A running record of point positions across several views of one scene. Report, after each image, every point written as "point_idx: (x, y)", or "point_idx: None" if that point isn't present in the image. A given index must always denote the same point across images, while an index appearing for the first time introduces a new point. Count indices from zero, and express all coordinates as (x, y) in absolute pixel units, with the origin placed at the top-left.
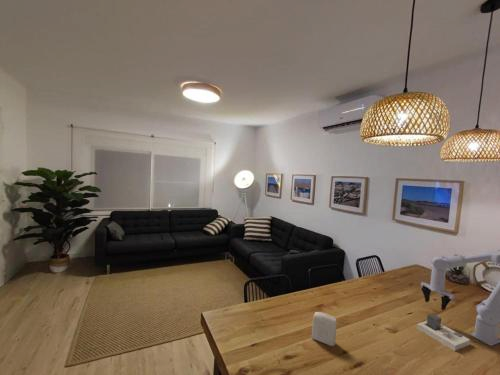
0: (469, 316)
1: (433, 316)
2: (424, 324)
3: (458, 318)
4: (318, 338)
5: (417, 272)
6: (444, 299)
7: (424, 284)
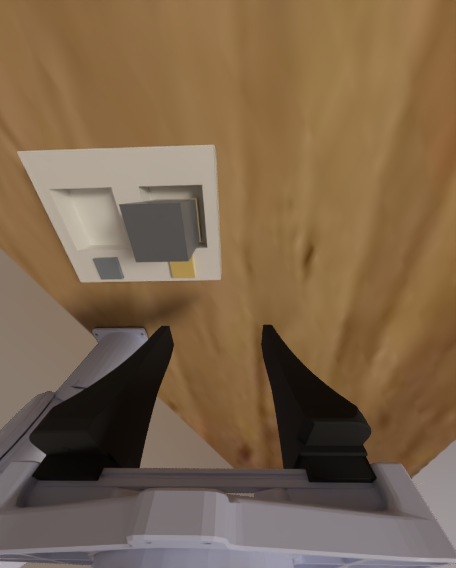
0: (215, 402)
1: (159, 230)
2: (204, 196)
3: (217, 375)
4: None
5: None
6: (67, 410)
7: (388, 548)
